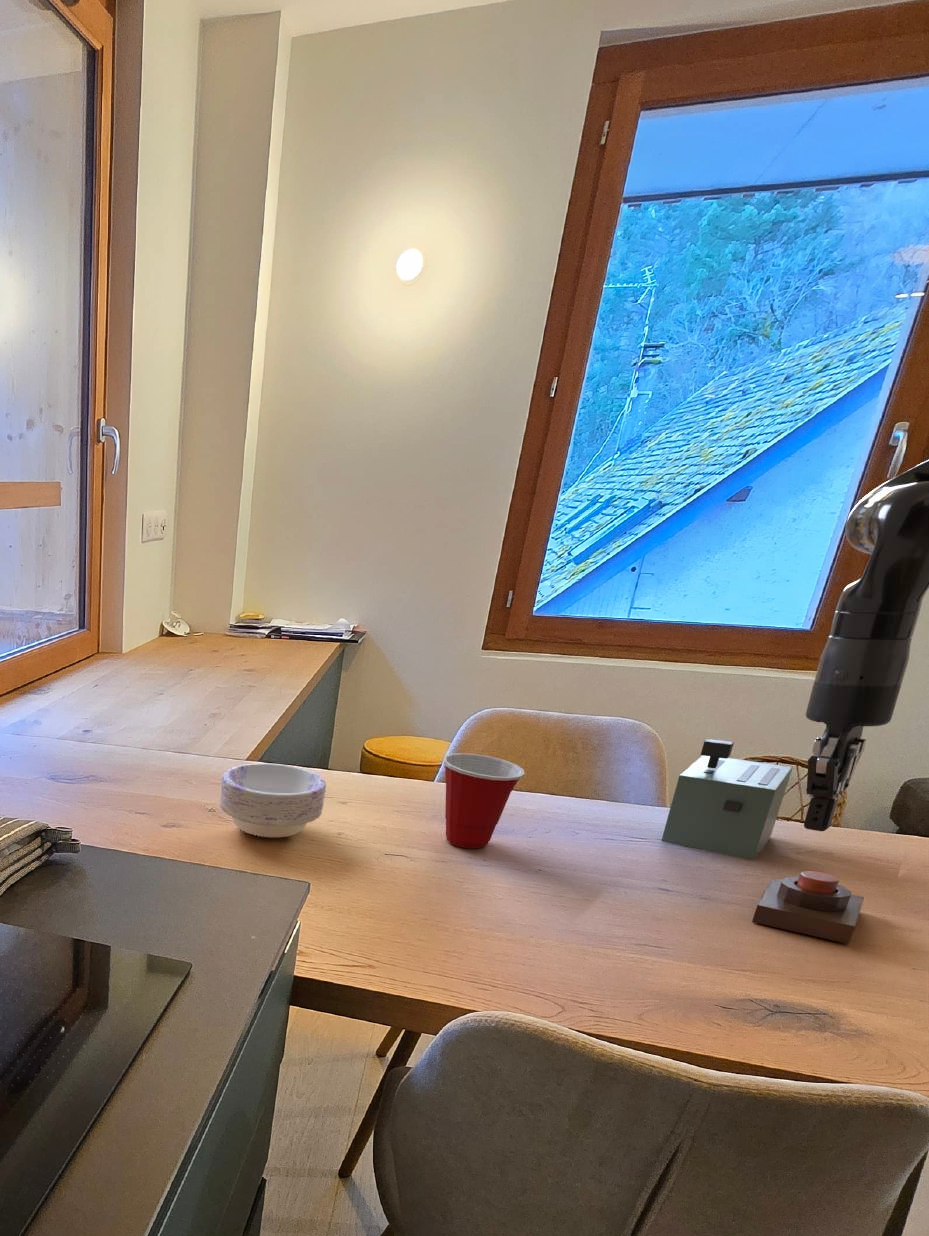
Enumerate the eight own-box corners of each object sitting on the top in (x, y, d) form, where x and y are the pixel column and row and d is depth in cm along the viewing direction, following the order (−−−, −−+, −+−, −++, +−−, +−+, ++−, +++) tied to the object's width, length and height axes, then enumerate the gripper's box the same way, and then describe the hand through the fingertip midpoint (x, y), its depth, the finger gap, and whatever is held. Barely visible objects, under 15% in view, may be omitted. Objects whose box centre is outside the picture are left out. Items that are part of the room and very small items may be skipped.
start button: (798, 882, 112) (802, 868, 111) (835, 889, 109) (840, 875, 109) (794, 890, 109) (798, 876, 108) (832, 898, 107) (837, 884, 106)
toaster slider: (700, 764, 133) (707, 738, 132) (726, 768, 131) (734, 742, 130) (697, 766, 132) (704, 741, 130) (723, 770, 130) (731, 744, 128)
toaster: (684, 823, 145) (703, 753, 140) (769, 839, 138) (793, 766, 134) (657, 851, 133) (678, 775, 128) (749, 869, 126) (775, 790, 122)
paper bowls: (336, 842, 135) (343, 790, 132) (236, 849, 134) (240, 796, 130) (298, 807, 149) (303, 759, 145) (206, 813, 147) (209, 764, 144)
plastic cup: (518, 857, 130) (536, 775, 125) (437, 853, 132) (452, 772, 127) (497, 829, 140) (513, 752, 135) (422, 826, 141) (435, 749, 136)
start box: (767, 894, 118) (777, 864, 116) (857, 913, 112) (869, 882, 110) (751, 922, 109) (761, 890, 108) (848, 944, 104) (860, 911, 102)
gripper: (887, 688, 97) (841, 847, 103) (914, 676, 104) (870, 824, 111) (799, 682, 102) (760, 833, 108) (831, 671, 110) (793, 813, 116)
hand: (816, 828), depth 109 cm, fingers closed
